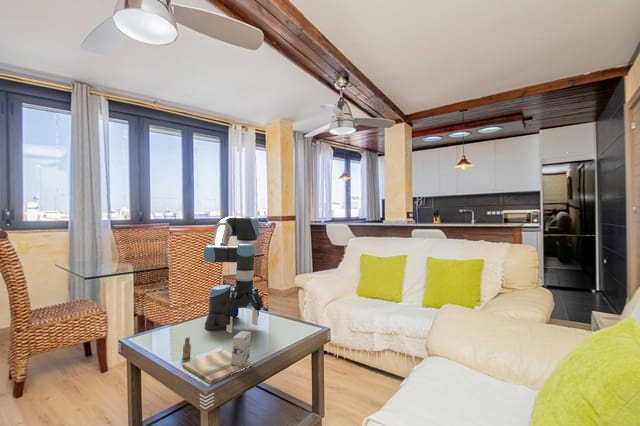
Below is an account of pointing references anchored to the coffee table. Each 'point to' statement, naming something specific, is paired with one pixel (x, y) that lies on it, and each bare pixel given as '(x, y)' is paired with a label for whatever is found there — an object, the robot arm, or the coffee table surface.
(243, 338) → the ink box
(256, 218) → the robot arm
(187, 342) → the brown bottle
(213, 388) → the coffee table surface
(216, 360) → the board
